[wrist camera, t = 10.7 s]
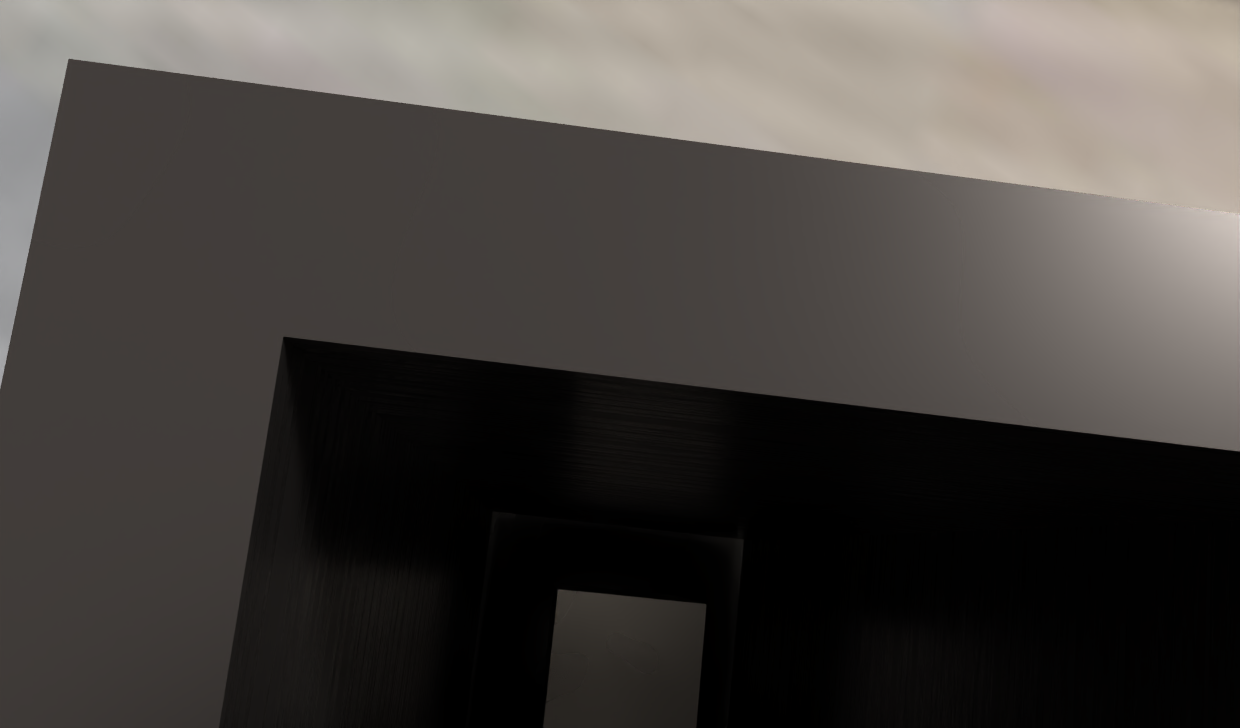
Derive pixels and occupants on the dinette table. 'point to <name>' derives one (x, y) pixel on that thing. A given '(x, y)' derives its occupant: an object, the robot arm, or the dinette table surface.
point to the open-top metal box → (600, 417)
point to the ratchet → (604, 627)
